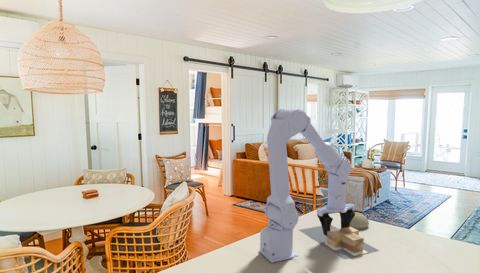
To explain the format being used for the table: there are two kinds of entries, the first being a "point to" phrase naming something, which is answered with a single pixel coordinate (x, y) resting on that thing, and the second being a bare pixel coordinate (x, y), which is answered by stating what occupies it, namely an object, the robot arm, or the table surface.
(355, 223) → the sea urchin shell
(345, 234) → the T block
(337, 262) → the table surface
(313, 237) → the T board
